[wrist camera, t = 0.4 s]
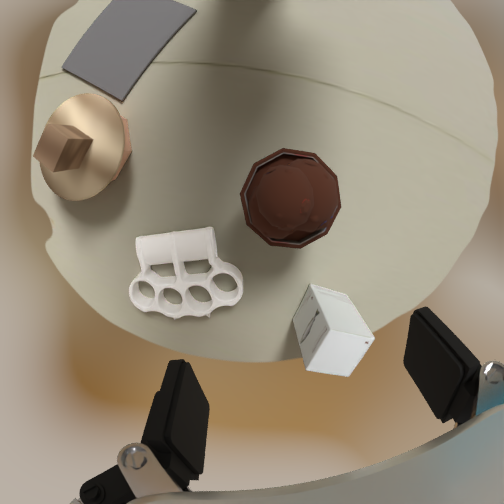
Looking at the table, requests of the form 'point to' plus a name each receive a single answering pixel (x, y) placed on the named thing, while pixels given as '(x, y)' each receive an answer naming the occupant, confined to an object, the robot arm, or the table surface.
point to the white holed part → (182, 273)
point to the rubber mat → (125, 42)
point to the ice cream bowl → (290, 198)
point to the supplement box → (330, 332)
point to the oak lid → (81, 147)
